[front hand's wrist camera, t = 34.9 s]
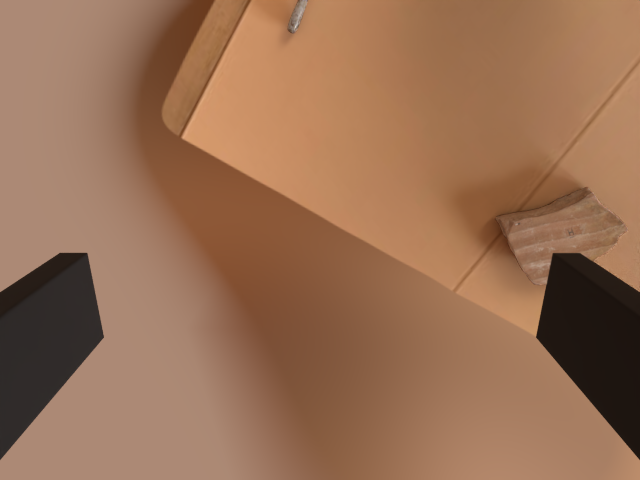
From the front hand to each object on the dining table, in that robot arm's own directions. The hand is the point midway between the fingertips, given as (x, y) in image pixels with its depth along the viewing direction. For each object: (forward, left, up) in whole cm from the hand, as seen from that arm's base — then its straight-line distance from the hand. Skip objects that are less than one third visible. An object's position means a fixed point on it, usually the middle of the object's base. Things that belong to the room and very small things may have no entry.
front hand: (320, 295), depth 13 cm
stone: (+28, +14, -41) cm, 51 cm away
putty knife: (-12, +9, -41) cm, 43 cm away
